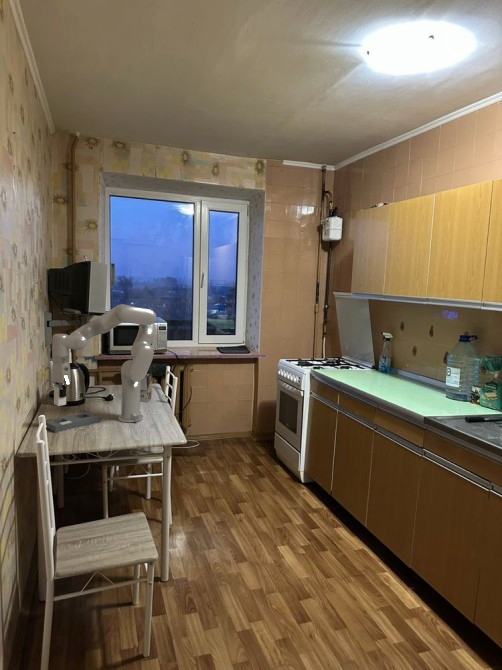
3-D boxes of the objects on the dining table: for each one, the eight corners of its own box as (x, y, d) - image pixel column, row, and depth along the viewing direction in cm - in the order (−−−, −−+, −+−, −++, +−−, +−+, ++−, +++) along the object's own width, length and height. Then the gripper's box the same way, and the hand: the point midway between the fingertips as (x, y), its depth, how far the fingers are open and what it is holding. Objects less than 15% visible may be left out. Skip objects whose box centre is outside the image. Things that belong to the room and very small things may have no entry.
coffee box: (147, 402, 271) (148, 376, 269) (137, 401, 271) (138, 375, 269) (151, 398, 280) (152, 373, 278) (141, 397, 280) (142, 372, 278)
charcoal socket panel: (99, 421, 230) (99, 415, 229) (55, 432, 210) (55, 425, 210) (86, 416, 237) (86, 410, 236) (42, 426, 218) (42, 420, 217)
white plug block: (66, 404, 218) (66, 384, 217) (58, 405, 215) (58, 385, 214) (61, 402, 220) (62, 383, 219) (53, 404, 217) (54, 384, 216)
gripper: (77, 361, 213) (76, 398, 215) (58, 356, 223) (58, 391, 225) (62, 362, 207) (62, 401, 209) (44, 357, 217) (44, 394, 219)
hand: (60, 395), depth 217 cm, fingers closed on white plug block, 4 cm apart
